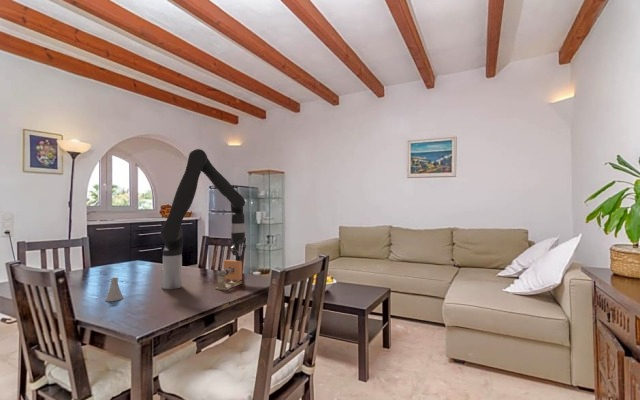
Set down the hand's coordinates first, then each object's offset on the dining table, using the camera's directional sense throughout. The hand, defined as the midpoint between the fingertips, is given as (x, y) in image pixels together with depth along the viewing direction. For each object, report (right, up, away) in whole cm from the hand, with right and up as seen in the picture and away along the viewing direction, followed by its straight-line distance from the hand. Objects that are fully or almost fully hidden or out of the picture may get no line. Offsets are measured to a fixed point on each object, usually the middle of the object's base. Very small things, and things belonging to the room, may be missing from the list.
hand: (238, 262), depth 185 cm
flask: (-50, -12, -31) cm, 60 cm away
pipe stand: (-3, -11, -8) cm, 14 cm away
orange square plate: (-2, -8, -5) cm, 10 cm away
